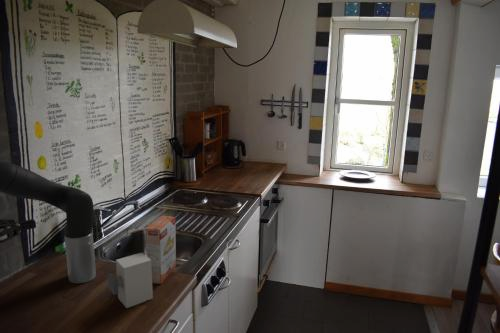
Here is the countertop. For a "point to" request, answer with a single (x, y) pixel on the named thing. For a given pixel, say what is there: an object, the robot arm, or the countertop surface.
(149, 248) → the cracker box
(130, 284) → the key block
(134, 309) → the countertop surface
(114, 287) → the block
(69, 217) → the robot arm
